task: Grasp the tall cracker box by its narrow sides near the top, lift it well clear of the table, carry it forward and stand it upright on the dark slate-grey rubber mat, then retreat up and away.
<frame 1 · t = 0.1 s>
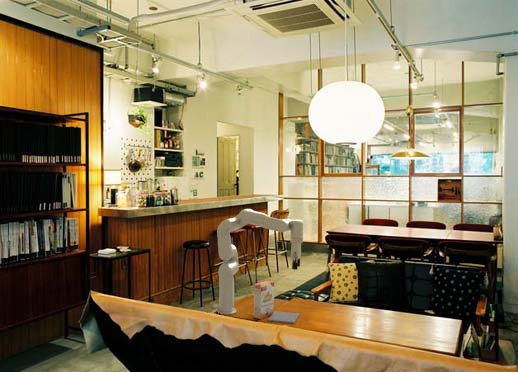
hand: (296, 267, 267), 31 cm above the table, tool pointing down, fingers open, 9 cm apart
cracker box: (263, 316, 272), on the table
slate mat: (284, 318, 268), on the table
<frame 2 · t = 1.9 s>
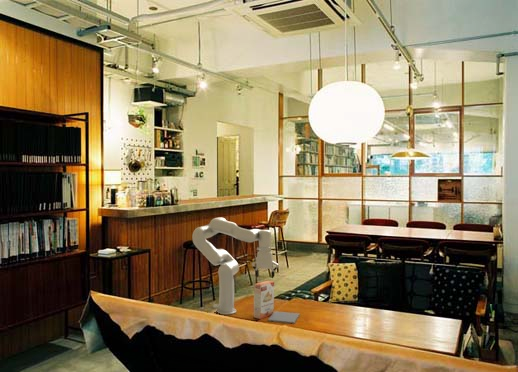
hand: (265, 277, 272), 24 cm above the table, tool pointing down, fingers open, 9 cm apart
nothing on the table moved.
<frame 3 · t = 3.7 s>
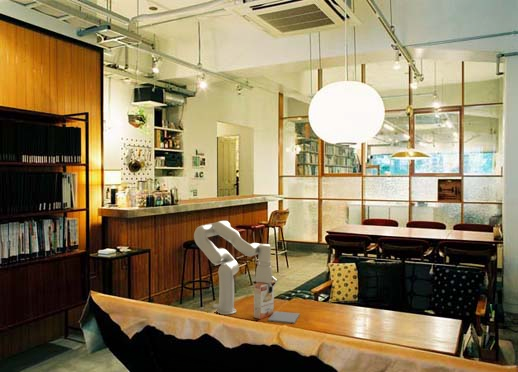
hand: (264, 292, 272), 15 cm above the table, tool pointing down, fingers closed on cracker box, 7 cm apart
cracker box: (263, 316, 272), on the table, touching gripper
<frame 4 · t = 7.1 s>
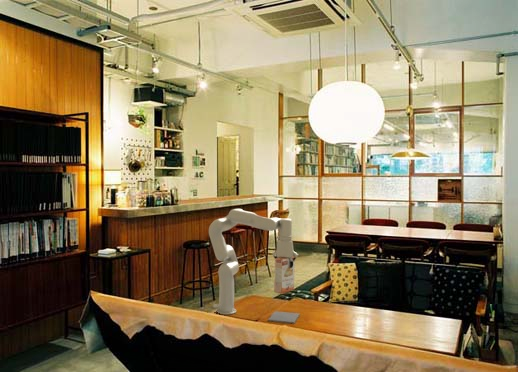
hand: (284, 267, 268), 31 cm above the table, tool pointing down, fingers closed on cracker box, 7 cm apart
cracker box: (284, 291, 268), point 16 cm above the table, touching gripper
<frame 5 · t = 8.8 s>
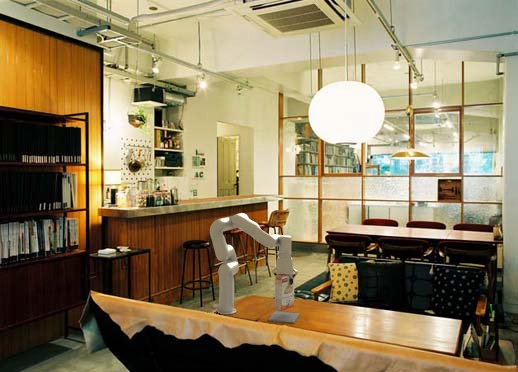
hand: (284, 284, 268), 21 cm above the table, tool pointing down, fingers closed on cracker box, 7 cm apart
cracker box: (284, 308, 268), point 6 cm above the table, touching gripper
when the fingers open (17 cm above the table, at t = 10.6 s): cracker box drops 1 cm, resting on slate mat.
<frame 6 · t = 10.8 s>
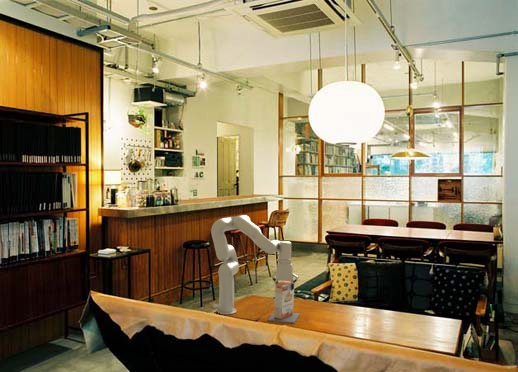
hand: (284, 289, 268), 18 cm above the table, tool pointing down, fingers open, 9 cm apart
cracker box: (283, 316, 268), point 1 cm above the table, touching slate mat
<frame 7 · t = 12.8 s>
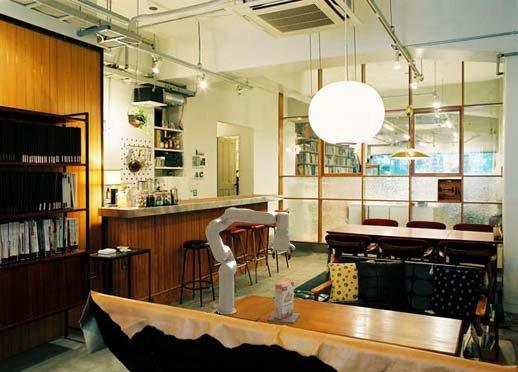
hand: (281, 259, 274), 35 cm above the table, tool pointing down, fingers open, 9 cm apart
nothing on the table moved.
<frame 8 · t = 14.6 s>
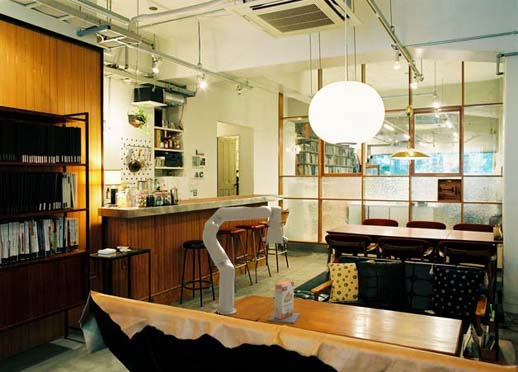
hand: (274, 251, 285), 38 cm above the table, tool pointing down, fingers open, 9 cm apart
nothing on the table moved.
at the end: cracker box inside the target area on the slate mat (0.2 cm from its centre), point 0.8 cm above the slate mat's base; cracker box tilted 0°; the gripper is holding nothing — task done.
